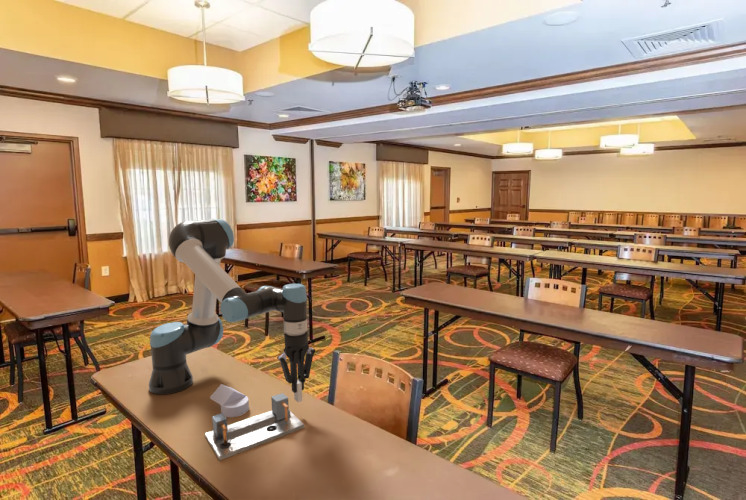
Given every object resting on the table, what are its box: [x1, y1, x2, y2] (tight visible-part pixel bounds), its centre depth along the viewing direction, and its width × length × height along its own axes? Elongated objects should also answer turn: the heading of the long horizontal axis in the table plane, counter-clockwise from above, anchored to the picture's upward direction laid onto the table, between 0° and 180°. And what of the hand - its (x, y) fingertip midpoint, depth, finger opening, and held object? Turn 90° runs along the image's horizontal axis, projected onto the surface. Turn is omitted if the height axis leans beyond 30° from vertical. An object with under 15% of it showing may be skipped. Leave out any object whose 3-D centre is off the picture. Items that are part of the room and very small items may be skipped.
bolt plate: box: [204, 409, 305, 461], centre depth 127 cm, size 14×26×8 cm, turn 127°
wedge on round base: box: [209, 383, 250, 418], centre depth 141 cm, size 9×7×13 cm
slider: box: [270, 392, 290, 422], centre depth 132 cm, size 7×4×6 cm, turn 37°
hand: (298, 400), depth 137 cm, fingers closed
